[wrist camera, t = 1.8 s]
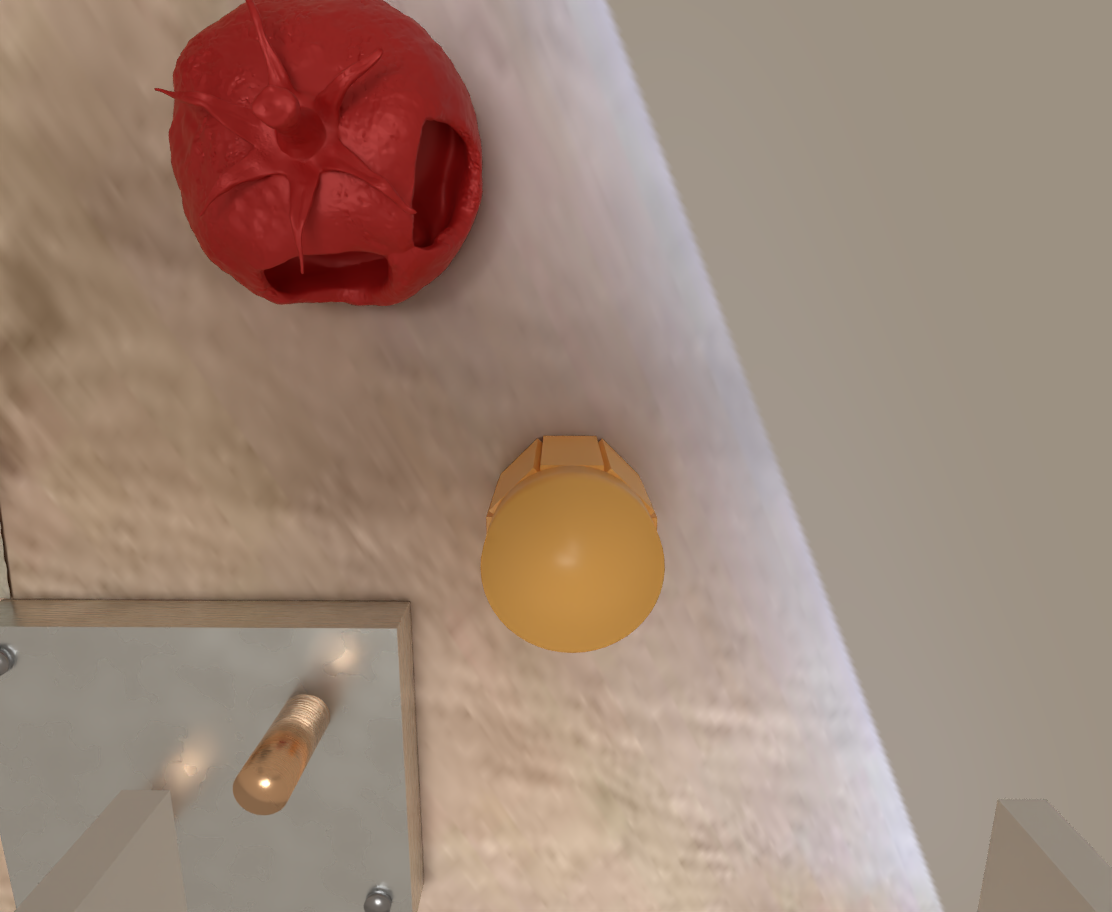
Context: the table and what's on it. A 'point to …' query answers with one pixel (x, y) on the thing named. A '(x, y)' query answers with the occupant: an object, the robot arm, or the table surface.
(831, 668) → the table surface
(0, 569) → the condiment
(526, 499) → the wire nut
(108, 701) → the plate
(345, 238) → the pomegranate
